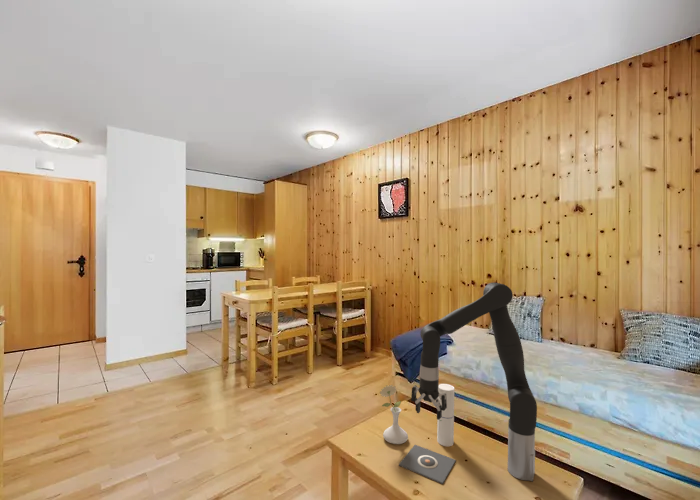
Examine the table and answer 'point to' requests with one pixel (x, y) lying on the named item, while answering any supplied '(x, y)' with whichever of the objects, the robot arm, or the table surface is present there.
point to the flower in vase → (395, 431)
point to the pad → (428, 463)
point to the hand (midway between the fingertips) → (428, 415)
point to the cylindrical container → (446, 417)
